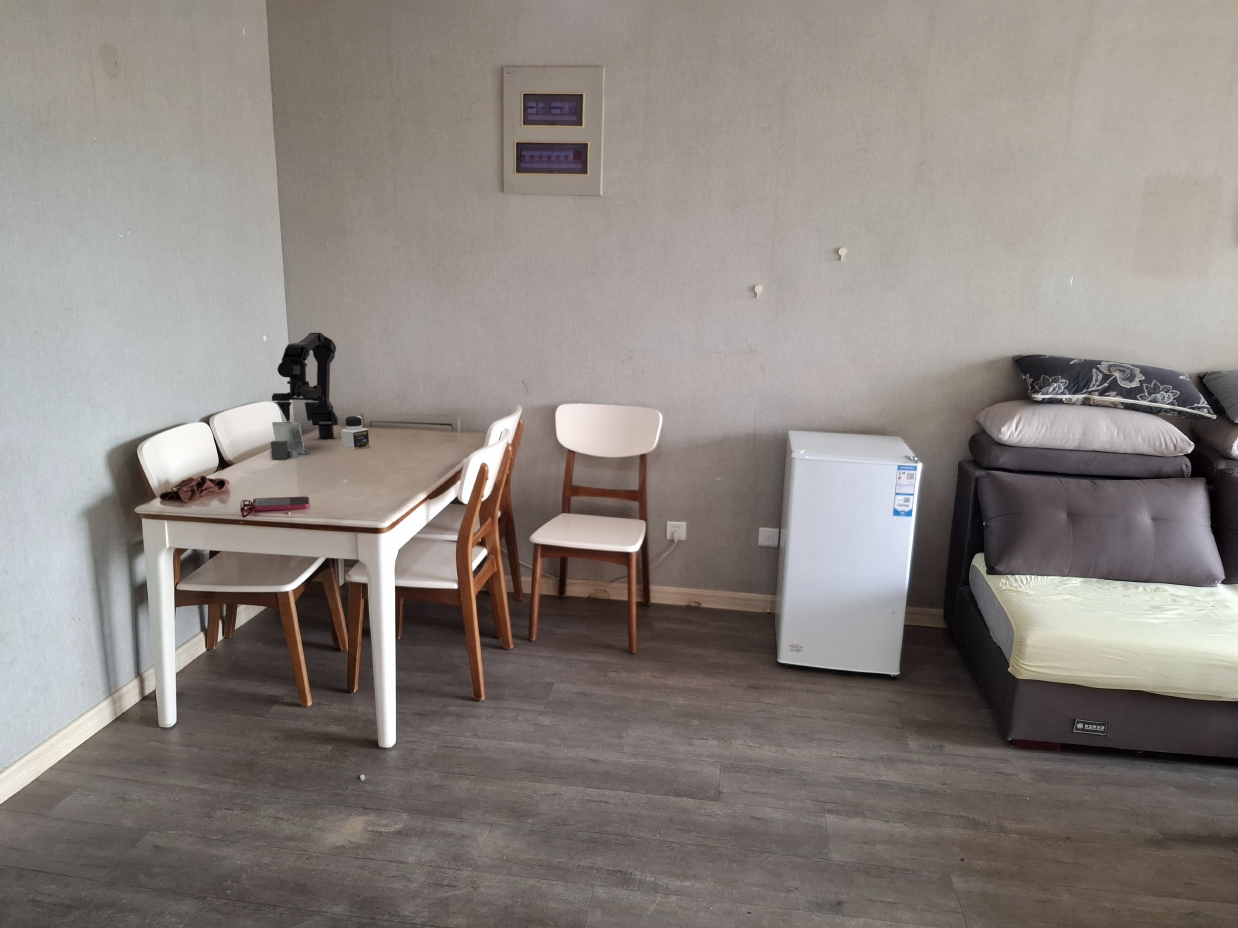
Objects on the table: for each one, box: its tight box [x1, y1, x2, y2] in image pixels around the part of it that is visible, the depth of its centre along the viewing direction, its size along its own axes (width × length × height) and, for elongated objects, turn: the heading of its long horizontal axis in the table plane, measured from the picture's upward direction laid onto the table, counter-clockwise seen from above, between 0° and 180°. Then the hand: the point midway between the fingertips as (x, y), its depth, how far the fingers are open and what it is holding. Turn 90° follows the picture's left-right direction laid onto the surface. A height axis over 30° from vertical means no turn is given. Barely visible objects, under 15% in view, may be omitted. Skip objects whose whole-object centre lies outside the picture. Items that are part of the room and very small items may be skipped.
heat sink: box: [269, 440, 310, 461], centre depth 297 cm, size 10×13×7 cm
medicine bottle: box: [340, 415, 370, 451], centre depth 316 cm, size 7×7×12 cm
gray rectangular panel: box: [271, 421, 306, 455], centre depth 300 cm, size 12×10×1 cm
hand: (298, 421), depth 305 cm, fingers open, 9 cm apart
